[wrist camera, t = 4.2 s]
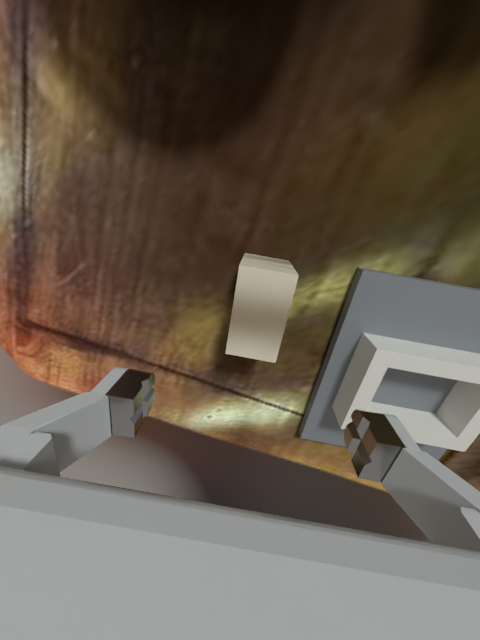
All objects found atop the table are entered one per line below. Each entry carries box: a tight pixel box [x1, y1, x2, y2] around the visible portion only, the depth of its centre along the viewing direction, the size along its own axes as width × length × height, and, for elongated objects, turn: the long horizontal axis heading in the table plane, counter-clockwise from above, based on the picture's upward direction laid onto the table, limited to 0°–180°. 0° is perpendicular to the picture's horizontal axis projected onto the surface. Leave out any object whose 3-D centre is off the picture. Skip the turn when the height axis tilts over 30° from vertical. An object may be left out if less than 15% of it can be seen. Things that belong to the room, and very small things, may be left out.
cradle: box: [299, 267, 480, 461], centre depth 23 cm, size 20×16×4 cm
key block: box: [225, 253, 299, 363], centre depth 20 cm, size 7×4×6 cm, turn 171°
